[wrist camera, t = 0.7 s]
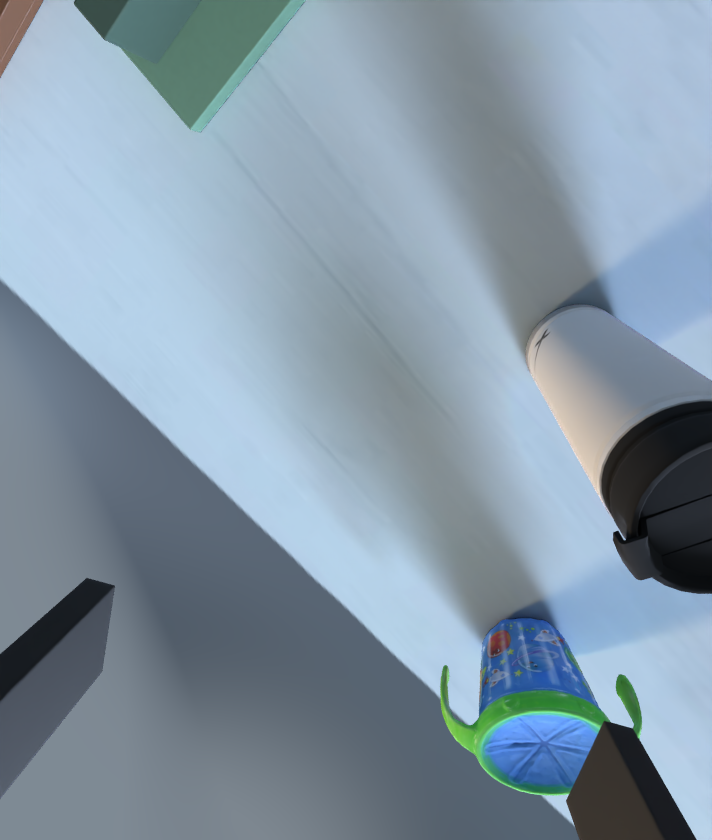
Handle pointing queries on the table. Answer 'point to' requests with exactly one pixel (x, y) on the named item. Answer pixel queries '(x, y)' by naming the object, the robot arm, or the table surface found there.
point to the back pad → (191, 45)
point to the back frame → (14, 25)
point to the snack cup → (533, 709)
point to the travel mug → (634, 438)
